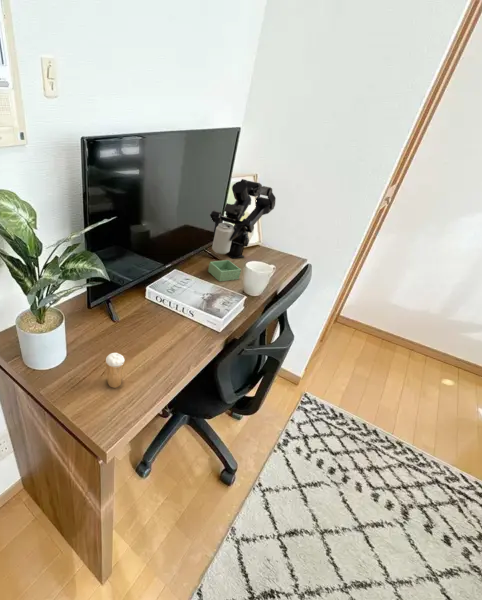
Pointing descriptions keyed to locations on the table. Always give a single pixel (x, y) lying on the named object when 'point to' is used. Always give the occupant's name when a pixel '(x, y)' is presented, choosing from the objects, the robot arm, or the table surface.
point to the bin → (224, 270)
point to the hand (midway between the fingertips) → (221, 237)
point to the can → (222, 238)
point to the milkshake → (114, 369)
